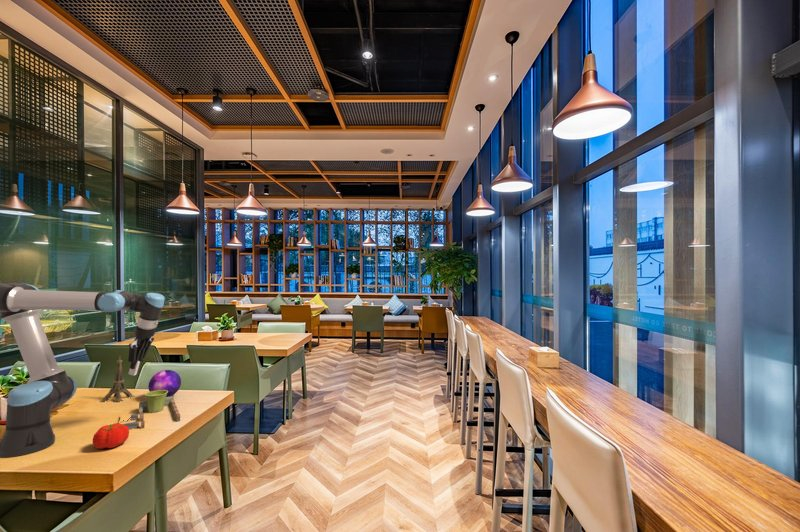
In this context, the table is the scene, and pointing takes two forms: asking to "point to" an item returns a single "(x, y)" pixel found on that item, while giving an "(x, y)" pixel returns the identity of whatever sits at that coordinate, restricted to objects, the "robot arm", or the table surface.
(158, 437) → the table surface
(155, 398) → the plant pot
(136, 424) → the grey and wooden pieces
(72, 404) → the table surface
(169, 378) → the decorative orb
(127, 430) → the tomato
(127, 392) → the eiffel tower
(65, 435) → the table surface
